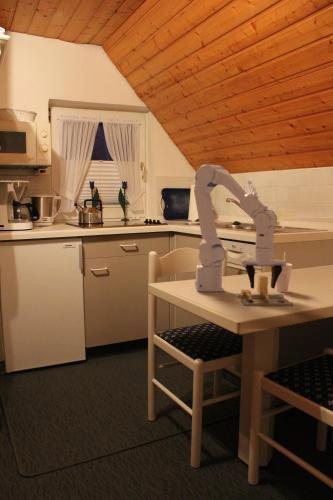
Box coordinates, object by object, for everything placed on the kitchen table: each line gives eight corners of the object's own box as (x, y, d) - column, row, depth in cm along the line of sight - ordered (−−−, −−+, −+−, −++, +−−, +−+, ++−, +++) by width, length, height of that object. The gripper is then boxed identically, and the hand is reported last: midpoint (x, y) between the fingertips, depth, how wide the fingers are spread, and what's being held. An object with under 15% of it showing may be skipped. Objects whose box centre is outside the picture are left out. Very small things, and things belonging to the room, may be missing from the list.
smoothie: (278, 293, 146) (280, 253, 143) (269, 289, 152) (271, 251, 150) (295, 292, 147) (297, 253, 145) (285, 288, 153) (287, 250, 151)
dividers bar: (242, 303, 133) (242, 296, 132) (237, 296, 141) (237, 289, 141) (289, 303, 133) (290, 296, 132) (281, 296, 142) (281, 289, 141)
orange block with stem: (263, 301, 133) (264, 281, 132) (256, 294, 142) (257, 275, 141) (271, 301, 133) (272, 281, 132) (264, 294, 142) (265, 275, 141)
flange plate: (244, 305, 130) (244, 303, 130) (240, 300, 136) (240, 298, 136) (291, 305, 131) (292, 303, 130) (286, 301, 136) (286, 299, 136)
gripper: (244, 248, 133) (243, 290, 135) (290, 249, 134) (287, 290, 136) (240, 245, 140) (239, 285, 142) (283, 246, 141) (281, 285, 143)
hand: (262, 287), depth 139 cm, fingers open, 6 cm apart
